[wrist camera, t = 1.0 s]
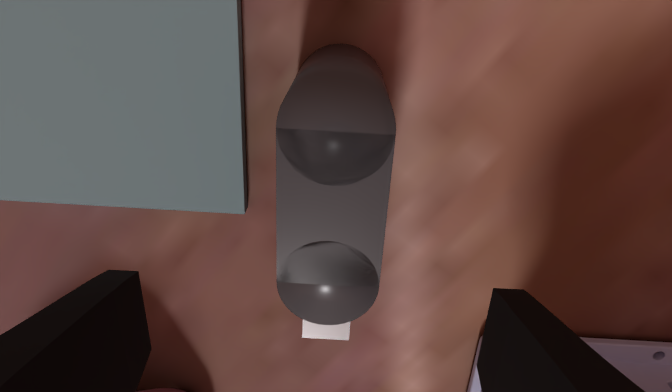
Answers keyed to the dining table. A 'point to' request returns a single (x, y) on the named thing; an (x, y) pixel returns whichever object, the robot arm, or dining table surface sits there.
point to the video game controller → (162, 390)
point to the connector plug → (333, 189)
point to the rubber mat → (123, 104)
